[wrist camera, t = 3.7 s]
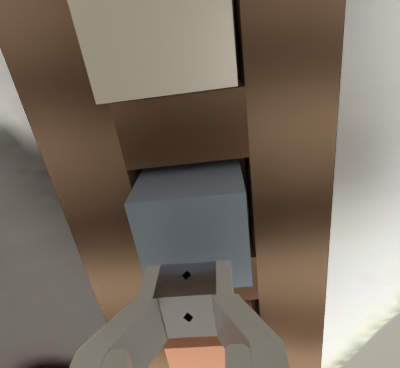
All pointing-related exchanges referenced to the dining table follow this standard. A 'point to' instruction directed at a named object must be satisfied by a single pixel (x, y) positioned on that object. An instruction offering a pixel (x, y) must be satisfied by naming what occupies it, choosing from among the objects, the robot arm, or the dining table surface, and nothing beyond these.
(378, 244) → the dining table surface
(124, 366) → the robot arm
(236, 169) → the slate button
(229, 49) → the cream button
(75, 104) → the button panel
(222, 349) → the terracotta button
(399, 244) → the dining table surface
